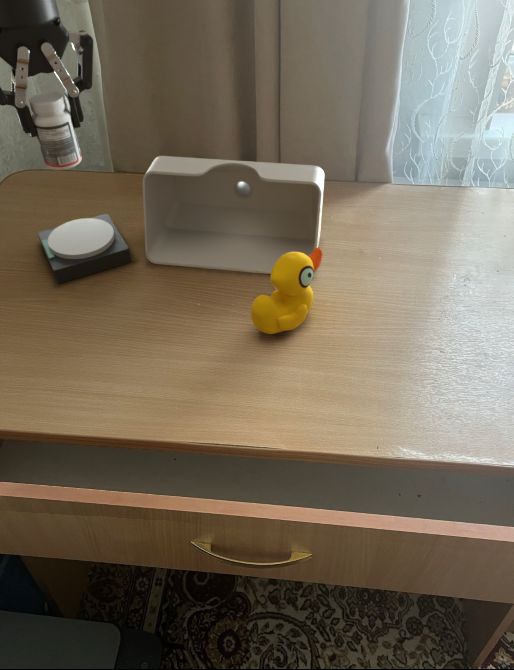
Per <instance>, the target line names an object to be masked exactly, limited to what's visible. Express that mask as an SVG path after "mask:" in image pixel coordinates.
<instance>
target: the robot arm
mask: <svg viewBox="0 0 514 670" xmlns="http://www.w3.org/2000/svg"><path fill="white" fill-rule="evenodd" d="M59 12H60V11H59V7H58V4H57V0H0V59H2V61H4V62H5V63H6V64H7V65H8V66H9V67H10V79H11V81H10V82H11V88H10V90H6V89H3V87H2V86H1V85H0V106H3V107H4V106H11V107H13V108H14V109H15V112H16V115H17V118H18V122H19V123H20V127H21V129H22V131H23V132H24V133H25V134H26V135H27V134H29V135H30V137H31V138H35V137H36V138H37V133H36V129H35V126H34V123H33V120H32V113H31V110H30V107H29V106H28V103H27V90H28V85H29V84H28V83H29V82H28V81H29V77H35V76H37V75H39V74H55V76H56V77H57V79H58V80H59V82H60V83H61V85H62V87H63V88H64V92H65V93H63V97H64V100H65V103H66V107H67V110H69V112H70V114H71V117H72V120H73V124H74V128H75V129H79V128H81V127H82V126H81V123H84V119H85V117H84V112H83V109H82V104H81V100H80V95H81V93H82V92H84V91H85V90H87V91H89V90H91V89H92V87H93V71H94V38H93V37H92V36H91V35H90V34H89V32H87V31H86V30H84V29H80V30H79V31H72V30H67V28H66V27H65V26H64V24H63V23H62V20H61V16H60V13H59ZM69 43H70V44H71V46H72V49H73V51H74V52H75V53H77V57H76V58H77V59H76V61H77V62H76V63H77V64H76V77H74V78H72V77H71V75H70V74H69V72H68V71H67V69H66V67H65V66H64V63H62V60H63V57H64V55H65V52H66V49H67V46H68V44H69Z"/></svg>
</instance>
